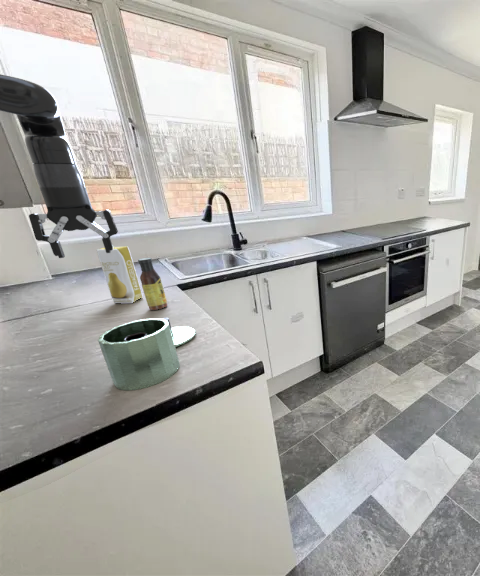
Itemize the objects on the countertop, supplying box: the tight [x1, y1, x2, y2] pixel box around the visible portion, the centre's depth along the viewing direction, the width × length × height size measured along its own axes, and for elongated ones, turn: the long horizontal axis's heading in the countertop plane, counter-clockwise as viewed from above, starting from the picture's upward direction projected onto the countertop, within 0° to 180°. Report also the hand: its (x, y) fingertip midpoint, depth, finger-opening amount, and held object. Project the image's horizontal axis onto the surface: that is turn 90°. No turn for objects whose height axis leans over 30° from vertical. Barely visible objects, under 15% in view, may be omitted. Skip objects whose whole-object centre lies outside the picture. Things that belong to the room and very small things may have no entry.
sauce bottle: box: [137, 257, 168, 311], centre depth 119 cm, size 7×6×20 cm
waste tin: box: [97, 317, 181, 391], centre depth 78 cm, size 14×14×12 cm
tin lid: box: [161, 317, 196, 348], centre depth 95 cm, size 15×15×7 cm
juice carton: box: [96, 244, 144, 304], centre depth 126 cm, size 9×8×24 cm
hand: (86, 254), depth 76 cm, fingers open, 8 cm apart
